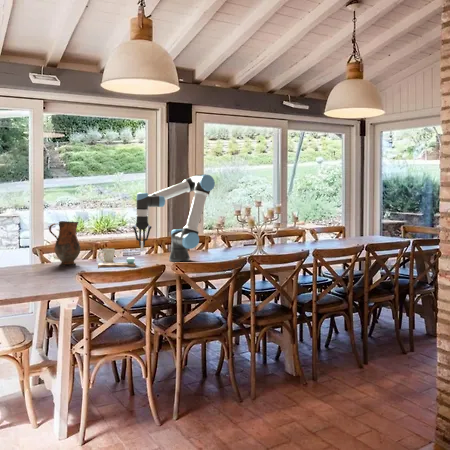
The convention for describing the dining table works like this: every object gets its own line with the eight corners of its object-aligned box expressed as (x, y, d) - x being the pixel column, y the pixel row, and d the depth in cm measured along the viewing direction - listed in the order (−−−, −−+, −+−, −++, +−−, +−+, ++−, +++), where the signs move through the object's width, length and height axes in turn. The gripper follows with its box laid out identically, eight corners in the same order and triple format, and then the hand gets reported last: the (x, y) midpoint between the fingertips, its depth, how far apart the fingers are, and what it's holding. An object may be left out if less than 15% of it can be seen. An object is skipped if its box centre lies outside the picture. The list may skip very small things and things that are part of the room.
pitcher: (85, 264, 348) (84, 221, 345) (55, 268, 333) (54, 223, 331) (73, 262, 360) (72, 220, 357) (44, 265, 345) (43, 221, 342)
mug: (111, 264, 351) (111, 250, 350) (95, 263, 353) (94, 249, 352) (116, 262, 359) (116, 248, 358) (100, 262, 361) (100, 248, 360)
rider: (134, 264, 343) (134, 257, 342) (134, 266, 337) (134, 258, 336) (127, 264, 342) (127, 257, 342) (126, 266, 336) (126, 258, 336)
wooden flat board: (135, 265, 344) (135, 262, 344) (134, 268, 336) (134, 264, 336) (99, 266, 341) (99, 262, 341) (97, 268, 332) (97, 264, 332)
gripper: (152, 215, 343) (151, 250, 344) (132, 215, 341) (132, 250, 342) (152, 216, 335) (151, 251, 337) (132, 216, 333) (131, 251, 335)
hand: (142, 250), depth 340 cm, fingers closed
